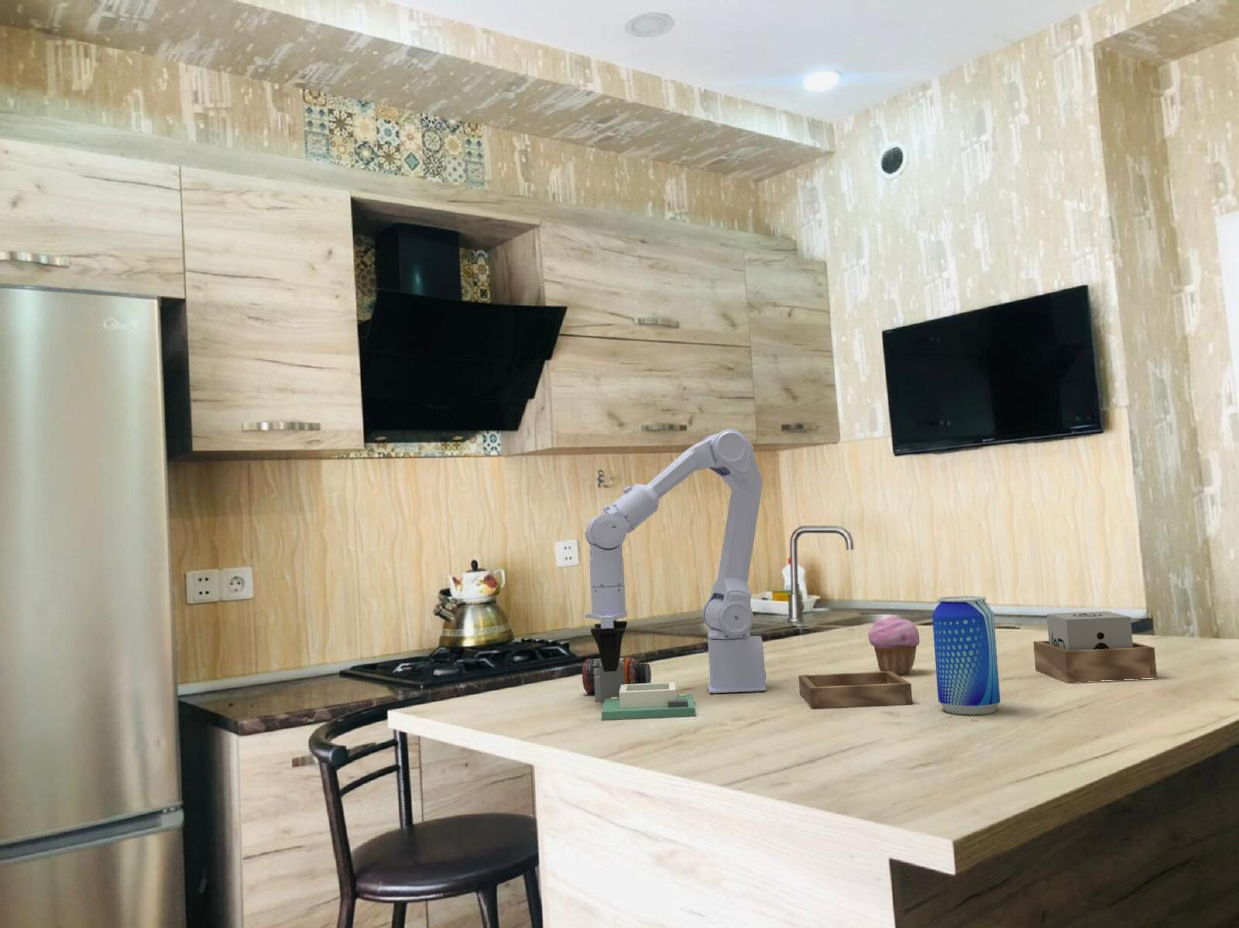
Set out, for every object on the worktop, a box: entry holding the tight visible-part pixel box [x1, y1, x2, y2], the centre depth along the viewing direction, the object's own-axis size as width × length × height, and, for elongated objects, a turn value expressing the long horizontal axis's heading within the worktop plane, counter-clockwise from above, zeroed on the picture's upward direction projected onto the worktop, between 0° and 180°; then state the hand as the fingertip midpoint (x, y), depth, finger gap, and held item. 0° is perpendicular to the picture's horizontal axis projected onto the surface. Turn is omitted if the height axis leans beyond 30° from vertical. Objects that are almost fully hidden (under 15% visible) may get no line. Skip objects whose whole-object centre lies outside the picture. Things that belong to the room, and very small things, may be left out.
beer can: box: [931, 595, 1001, 716], centre depth 146 cm, size 8×8×16 cm
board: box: [600, 693, 696, 721], centre depth 158 cm, size 14×12×2 cm
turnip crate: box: [798, 671, 913, 709], centre depth 159 cm, size 15×13×3 cm
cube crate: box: [1033, 640, 1158, 684], centre depth 169 cm, size 14×14×5 cm
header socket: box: [619, 681, 677, 709], centre depth 158 cm, size 9×8×2 cm
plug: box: [594, 662, 625, 704], centre depth 169 cm, size 5×4×6 cm
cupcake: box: [868, 616, 920, 676], centre depth 182 cm, size 9×9×10 cm
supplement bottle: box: [581, 657, 652, 694], centre depth 176 cm, size 6×6×11 cm
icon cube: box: [1046, 610, 1134, 651], centre depth 169 cm, size 10×10×10 cm
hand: (611, 668), depth 169 cm, fingers open, 7 cm apart
